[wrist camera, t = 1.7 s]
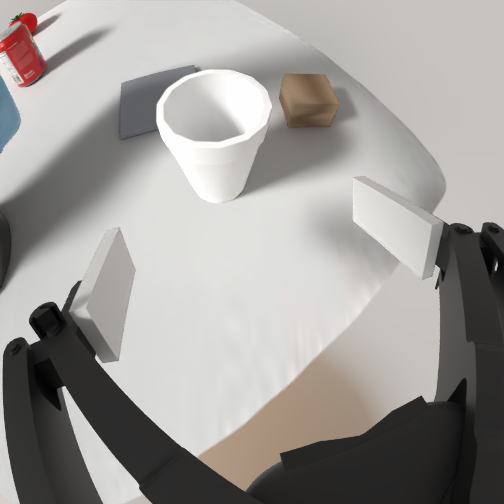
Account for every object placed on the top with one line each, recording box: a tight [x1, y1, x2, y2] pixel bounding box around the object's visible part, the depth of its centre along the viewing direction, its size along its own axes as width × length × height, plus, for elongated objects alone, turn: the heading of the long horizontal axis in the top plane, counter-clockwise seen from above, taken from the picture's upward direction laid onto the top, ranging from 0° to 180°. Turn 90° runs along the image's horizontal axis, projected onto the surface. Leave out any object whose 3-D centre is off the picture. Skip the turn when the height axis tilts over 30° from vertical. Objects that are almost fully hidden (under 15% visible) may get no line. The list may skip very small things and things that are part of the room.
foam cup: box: [156, 70, 272, 203], centre depth 27 cm, size 10×9×13 cm
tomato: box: [9, 13, 37, 34], centre depth 40 cm, size 10×10×10 cm
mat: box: [120, 65, 196, 140], centre depth 36 cm, size 12×12×1 cm
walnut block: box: [279, 74, 339, 128], centre depth 35 cm, size 6×6×5 cm
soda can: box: [0, 22, 47, 87], centre depth 31 cm, size 8×8×15 cm
